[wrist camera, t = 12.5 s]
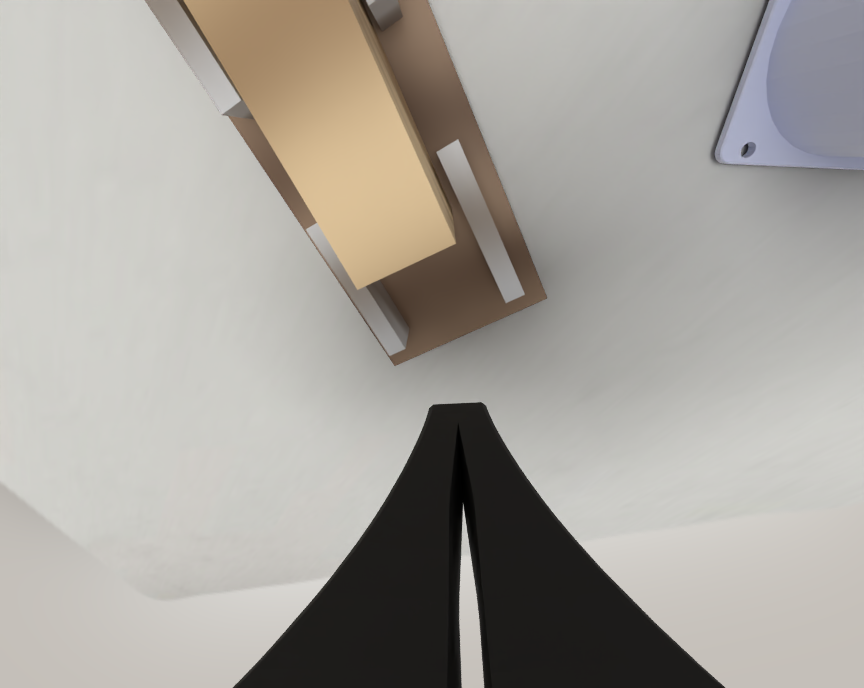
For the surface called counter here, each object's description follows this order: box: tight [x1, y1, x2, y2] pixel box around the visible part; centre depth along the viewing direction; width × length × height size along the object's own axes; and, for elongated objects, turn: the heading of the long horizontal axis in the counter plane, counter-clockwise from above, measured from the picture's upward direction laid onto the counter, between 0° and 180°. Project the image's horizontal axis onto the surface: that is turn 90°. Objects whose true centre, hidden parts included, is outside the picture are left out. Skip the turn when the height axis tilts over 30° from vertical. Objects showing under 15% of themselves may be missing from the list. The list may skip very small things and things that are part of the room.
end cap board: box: [145, 0, 547, 366], centre depth 13 cm, size 18×8×4 cm, turn 28°
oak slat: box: [184, 0, 456, 290], centre depth 10 cm, size 11×3×6 cm, turn 26°
